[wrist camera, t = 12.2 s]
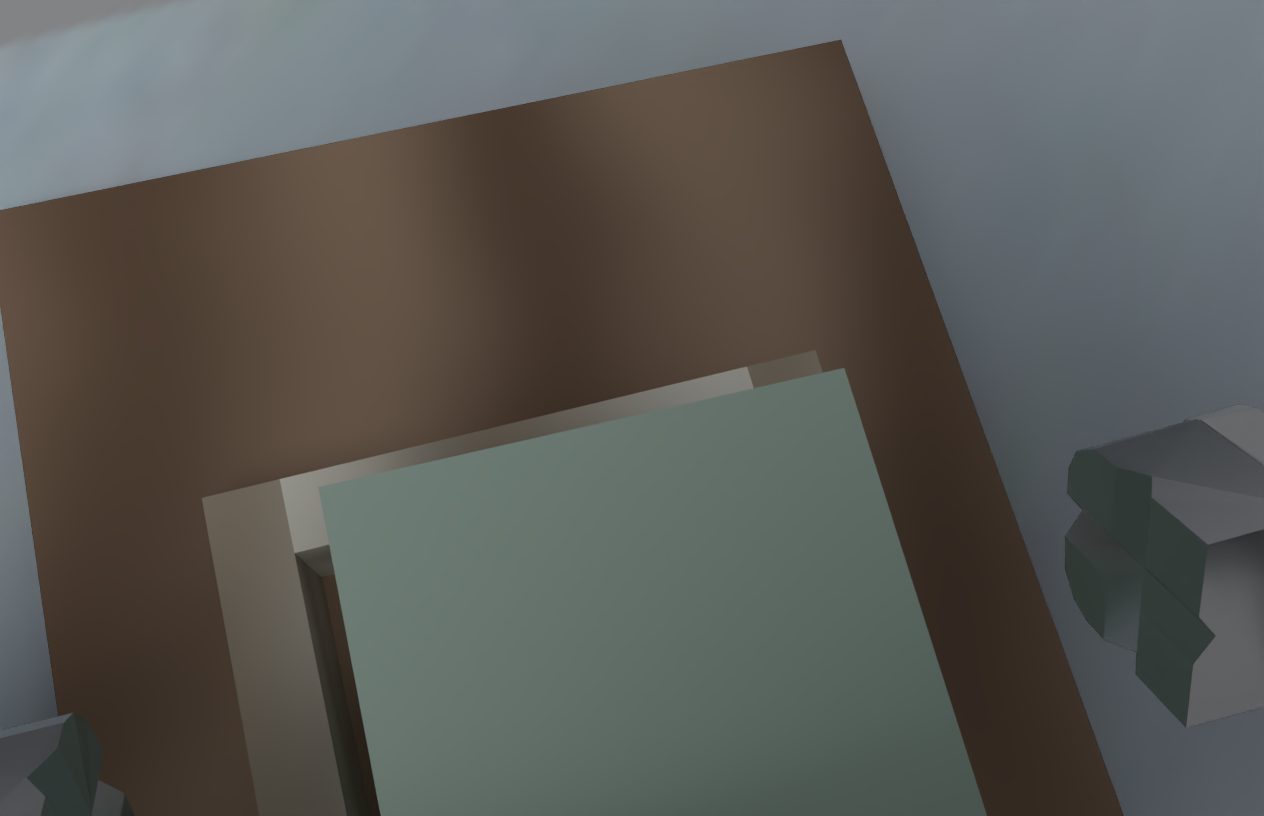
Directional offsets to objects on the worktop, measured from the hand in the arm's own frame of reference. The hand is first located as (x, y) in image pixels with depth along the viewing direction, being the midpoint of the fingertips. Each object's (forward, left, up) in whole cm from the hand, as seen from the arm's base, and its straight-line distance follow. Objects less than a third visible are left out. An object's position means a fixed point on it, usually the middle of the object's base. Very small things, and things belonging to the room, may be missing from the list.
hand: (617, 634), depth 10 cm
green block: (0, +1, -8) cm, 8 cm away
